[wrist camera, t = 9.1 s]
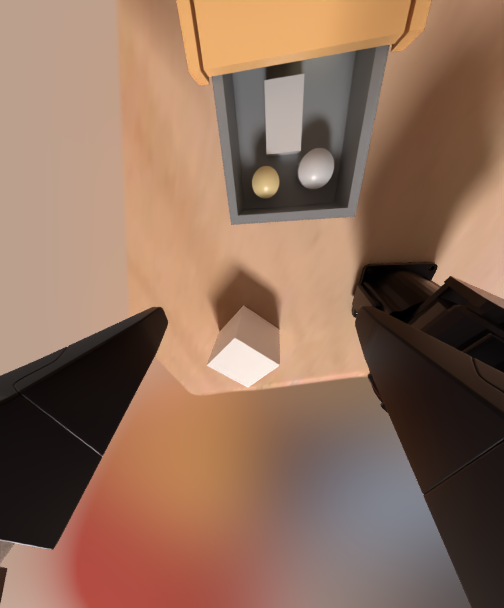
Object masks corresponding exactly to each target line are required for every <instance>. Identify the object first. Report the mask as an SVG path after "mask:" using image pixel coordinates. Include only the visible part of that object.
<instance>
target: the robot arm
mask: <svg viewBox="0 0 504 608" xmlns="http://www.w3.org/2000/svg"><path fill="white" fill-rule="evenodd" d="M431 266H432V267H431ZM429 267H431V268H430V269H428V268H429ZM437 267H438V266H437V265H436V264H435V263H433V262H420V263H390V264H368V265H366V266H365V267H364V268H363V272H362V275H361V279H360V283H359V284H358V285H357V287H356V291H355V295H354V299H353V303H352V305H353V310H352V315H353V316H354V317H355V318H356V321H355V327H356V330H357V334H358V337H359V341H360V344H361V347H362V351H363V354H364V357H365V360H366V362H367V365H368V367H369V371H370V373H369V374H368V379H369V381H370V383H371V385H372V388H373V390H374V392H375V394H376V395H377V397H378V398H379V400H380V401H381V402H382V403H381V407H382V408H383V409H384V410H385V411H386V412H387V413H388V414H389V416H390V418H391V421H392V423H393V425H394V428H395V430H396V432H397V435H398V437H399V439H400V442H401V444H402V446H403V449H404V451H405V453H406V456H407V458H408V460H409V463H410V465H411V467H412V470H413V472H414V474H415V476H416V479H417V481H418V484H419V486H420V488H421V491H422V493H423V494H424V498H425V500H426V503H427V505H428V507H429V510H430V512H431V514H432V517H433V519H434V521H435V524H436V526H437V528H438V531H439V533H440V535H441V538H442V540H443V542H444V545H445V547H446V549H447V552H448V554H449V556H450V559H451V561H452V563H453V566H454V568H455V570H456V573H457V575H458V577H459V580H460V582H461V584H462V587H463V589H464V591H465V594H466V596H467V598H468V601H469V603H470V605H471V608H504V299H502V298H500V297H497V296H495V295H493V294H491V293H488V292H486V291H484V290H481V289H479V288H477V287H475V286H472V285H470V284H468V283H466V282H463V281H461V280H459V279H456V278H454V277H452V276H450V277H449V278H448V279H447V280H446V281H444V283H445V284H444V285H442V286H439V285H438V284H436V283H435V282H433V281H432V278H433V276H434V274H435V272H436V270H437ZM369 268H371V270H370V271H367V270H368V269H369ZM356 313H358V314H356ZM167 325H168V320H167V317H166V315H165V312H164V310H163V308H161V307H152V308H149V309H147V310H145V311H143V312H141V313H139V314H136V315H134V316H132V317H130V318H128V319H126V320H123V321H121V322H119V323H117V324H115V325H113V326H111V327H108V328H106V329H104V330H102V331H100V332H98V333H95V334H93V335H91V336H89V337H87V338H84V339H82V340H80V341H78V342H76V343H74V344H71V345H69V346H68V347H65V348H63V349H61V350H58V351H56V352H54V353H52V354H50V355H47V356H45V357H43V358H41V359H39V360H36V361H34V362H32V363H29V364H27V365H25V366H22V367H20V368H18V369H15V370H13V371H10V372H8V373H6V374H3V375H1V376H0V563H1V562H2V560H3V559H4V557H5V556H6V555H7V554H8V552H9V551H10V549H11V548H12V547H13V545H14V544H15V543H16V544H22V545H27V546H32V547H38V548H43V549H49V550H53V549H54V547H55V546H56V544H57V543H58V541H59V539H60V537H61V535H62V533H63V532H64V530H65V528H66V526H67V524H68V522H69V520H70V518H71V516H72V514H73V512H74V510H75V509H76V507H77V505H78V503H79V501H80V499H81V497H82V495H83V493H84V491H85V489H86V487H87V485H88V484H89V482H90V480H91V478H92V476H93V474H94V472H95V470H96V468H97V466H98V464H99V462H100V461H101V458H102V456H103V454H104V453H105V451H106V449H107V447H108V445H109V443H110V441H111V439H112V437H113V435H114V433H115V432H116V430H117V428H118V426H119V424H120V422H121V420H122V418H123V416H124V414H125V412H126V410H127V409H128V407H129V404H130V403H131V401H132V399H133V397H134V395H135V393H136V391H137V389H138V387H139V386H140V383H141V382H142V380H143V378H144V376H145V374H146V372H147V370H148V368H149V366H150V364H151V363H152V360H153V359H154V357H155V355H156V353H157V351H158V348H159V346H160V343H161V341H162V338H163V336H164V333H165V331H166V328H167ZM6 572H7V568H4V567H0V602H1V597H2V592H3V587H4V582H5V577H6Z"/></svg>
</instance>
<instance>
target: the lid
mask: <svg viewBox="0 0 504 608" xmlns="http://www.w3.org/2000/svg"><path fill="white" fill-rule="evenodd" d="M176 1H177V7H178V13H179V18H180V24H181V30H182V36H183V41H184V47H185V53H186V59H187V64H188V70H189V73H190V75H191V76H192V77H193V78H194V79H195V81H196V82H197V83H198V84H199V85H200V86H201V85H206V84H209V77H212V76H217V75H223V74H229V73H234V72H240V71H245V70H251V69H256V68H262V67H267V66H273V65H279V64H284V63H290V62H295V61H301V60H306V59H312V58H318V57H323V56H329V55H334V54H340V53H345V52H351V51H356V50H362V49H368V48H373V47H379V46H384V45H390V44H392V48H391V52H396V51H401V50H404V49H405V48H406V47H407V46H408V45H409V44H410V43H411V42H412V41H413V40H414V39H415V38H416V37H417V36H418V35H419V34H420V33H421V32H422V31H423V30H424V28H425V24H426V20H427V17H428V13H429V9H430V5H431V1H432V0H176Z"/></svg>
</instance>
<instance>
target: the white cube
mask: <svg viewBox="0 0 504 608" xmlns="http://www.w3.org/2000/svg"><path fill="white" fill-rule="evenodd" d="M207 366H209V367H210V368H212V369H214V370H216V371H218V372H220V373H222V374H223V375H225V376H227V377H229V378H231V379H233V380H235V381H236V382H238V383H240V384H242V385H244V386H246V387H247V388H248V387H249V386H251V385H252V384H254V383H255V382H257V381H258V380H259V379H261V378H262V377H264V376H265V375H267V374H268V373H269V372H271V371H272V370H274V369H275V368H277V367H278V366H280V344H279V329H278V328H276V327H275V326H273V325H272V324H271V323H269V322H268V321H266V320H265V319H263V318H262V317H260V316H259V315H257V314H256V313H254V312H253V311H251V310H250V309H248V308H247V307H245V306H244V305H243V306H242V307H241V309H240V310H239V311H238V312H237V313H236V314H235V315H234V316H233V317H232V318H231V319H230V321H229V322H228V323H227V324H226V325H225V326H224V327H223V328H222V329H221V330H220V332H219V334H218V337H217V339H216V342H215V345H214V347H213V350H212V353H211V355H210V358H209V361H208V363H207Z"/></svg>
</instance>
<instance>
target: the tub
mask: <svg viewBox="0 0 504 608" xmlns="http://www.w3.org/2000/svg"><path fill="white" fill-rule="evenodd" d="M389 46H390V45H384V46H379V47H373V48H368V49H362V50H356V51H351V52H345V53H340V54H334V55H329V56H323V57H318V58H312V59H306V60H301V61H295V62H290V63H284V64H279V65H273V66H267V67H262V68H256V69H251V70H245V71H240V72H234V73H229V74H223V75H217V76H212V83H213V90H214V98H215V106H216V113H217V121H218V128H219V136H220V143H221V151H222V159H223V166H224V174H225V181H226V189H227V196H228V204H229V212H230V219H231V225H234V224H250V223H265V222H280V221H295V220H310V219H325V218H341V217H355V215H356V210H357V205H358V200H359V195H360V190H361V185H362V180H363V175H364V170H365V165H366V160H367V155H368V150H369V145H370V140H371V135H372V130H373V125H374V120H375V115H376V110H377V105H378V100H379V96H380V91H381V86H382V81H383V76H384V71H385V66H386V61H387V56H388V51H389Z"/></svg>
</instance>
